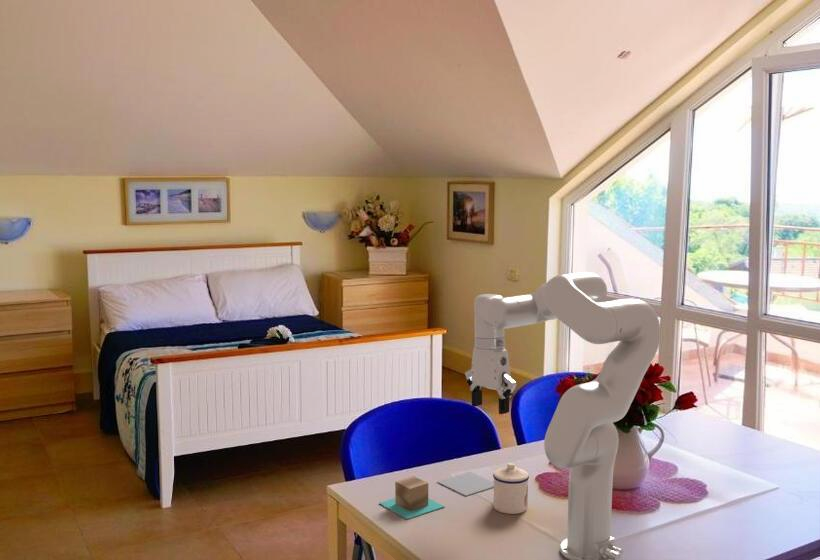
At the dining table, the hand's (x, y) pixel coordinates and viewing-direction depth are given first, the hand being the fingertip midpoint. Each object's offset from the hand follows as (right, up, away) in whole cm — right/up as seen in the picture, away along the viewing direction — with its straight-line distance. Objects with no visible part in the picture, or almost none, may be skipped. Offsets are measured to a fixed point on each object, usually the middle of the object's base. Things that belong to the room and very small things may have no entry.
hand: (490, 409), depth 213 cm
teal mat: (-20, -25, +2) cm, 32 cm away
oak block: (-20, -25, +2) cm, 32 cm away
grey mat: (-5, -23, +16) cm, 28 cm away
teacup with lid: (+5, -25, +2) cm, 26 cm away
